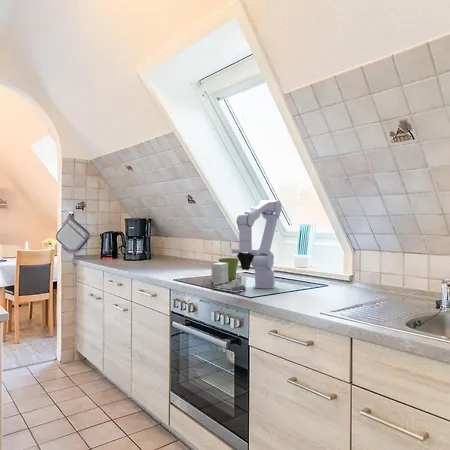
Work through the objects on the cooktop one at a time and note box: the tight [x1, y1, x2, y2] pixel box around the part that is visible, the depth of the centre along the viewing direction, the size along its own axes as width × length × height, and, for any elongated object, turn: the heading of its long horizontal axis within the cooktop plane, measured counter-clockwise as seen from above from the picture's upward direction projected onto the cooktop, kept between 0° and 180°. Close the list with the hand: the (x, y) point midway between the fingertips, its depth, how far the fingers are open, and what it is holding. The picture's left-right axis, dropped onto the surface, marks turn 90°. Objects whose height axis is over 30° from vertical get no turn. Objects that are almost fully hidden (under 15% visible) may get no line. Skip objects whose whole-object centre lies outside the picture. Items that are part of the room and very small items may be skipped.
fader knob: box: [231, 278, 240, 288], centre depth 195 cm, size 2×3×4 cm, turn 142°
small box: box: [211, 261, 229, 283], centre depth 216 cm, size 8×6×10 cm
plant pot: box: [217, 257, 239, 281], centre depth 230 cm, size 12×12×11 cm
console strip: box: [211, 282, 247, 291], centre depth 197 cm, size 14×8×3 cm, turn 52°
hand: (245, 269), depth 191 cm, fingers closed
